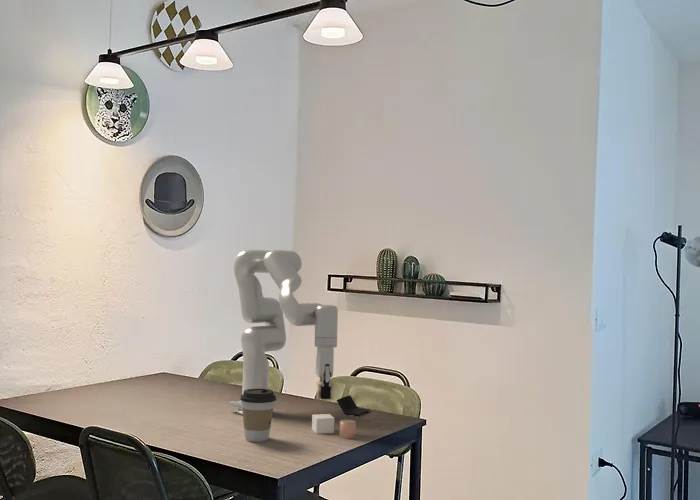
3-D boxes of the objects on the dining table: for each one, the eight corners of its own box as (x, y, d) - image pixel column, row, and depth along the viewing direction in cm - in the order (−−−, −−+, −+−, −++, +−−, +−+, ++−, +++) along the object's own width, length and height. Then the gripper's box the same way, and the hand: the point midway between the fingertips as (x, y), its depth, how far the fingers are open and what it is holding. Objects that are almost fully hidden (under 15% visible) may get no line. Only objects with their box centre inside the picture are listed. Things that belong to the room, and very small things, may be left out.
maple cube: (318, 399, 225) (318, 384, 225) (316, 396, 230) (316, 381, 230) (333, 399, 225) (333, 384, 226) (331, 396, 230) (331, 381, 230)
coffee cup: (276, 443, 210) (278, 394, 210) (239, 444, 207) (241, 394, 208) (273, 434, 221) (274, 387, 221) (237, 434, 218) (239, 387, 219)
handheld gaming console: (363, 413, 250) (349, 389, 253) (348, 423, 251) (334, 400, 254) (372, 411, 261) (358, 389, 264) (357, 422, 262) (343, 399, 265)
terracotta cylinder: (340, 439, 218) (341, 423, 218) (338, 435, 223) (339, 419, 223) (356, 438, 218) (356, 423, 219) (353, 434, 223) (354, 419, 224)
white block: (316, 433, 224) (316, 418, 224) (311, 429, 229) (312, 414, 229) (333, 433, 225) (334, 417, 226) (328, 428, 231) (329, 413, 231)
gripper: (312, 339, 236) (310, 392, 235) (317, 344, 219) (316, 401, 218) (333, 339, 237) (332, 392, 236) (340, 345, 220) (339, 401, 220)
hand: (324, 396), depth 227 cm, fingers closed on maple cube, 5 cm apart
